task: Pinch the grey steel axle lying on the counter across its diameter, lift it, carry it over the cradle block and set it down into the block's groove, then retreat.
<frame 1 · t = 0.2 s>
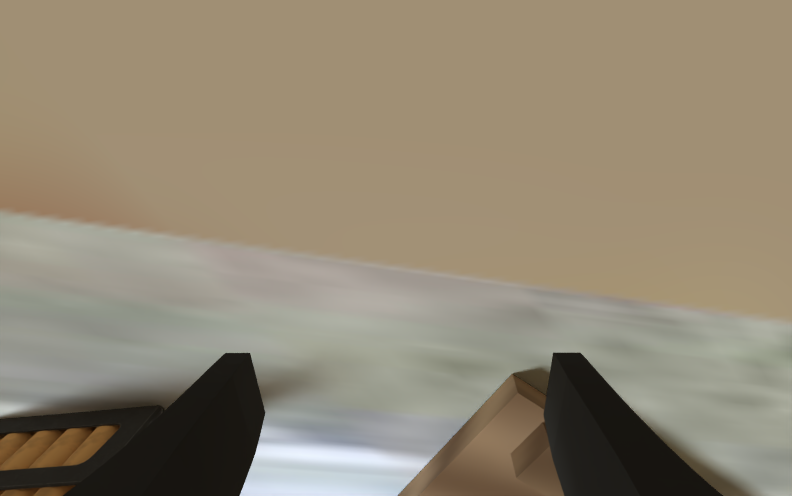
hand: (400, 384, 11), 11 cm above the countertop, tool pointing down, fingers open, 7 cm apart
ammunition clip: (81, 423, 26), on the countertop
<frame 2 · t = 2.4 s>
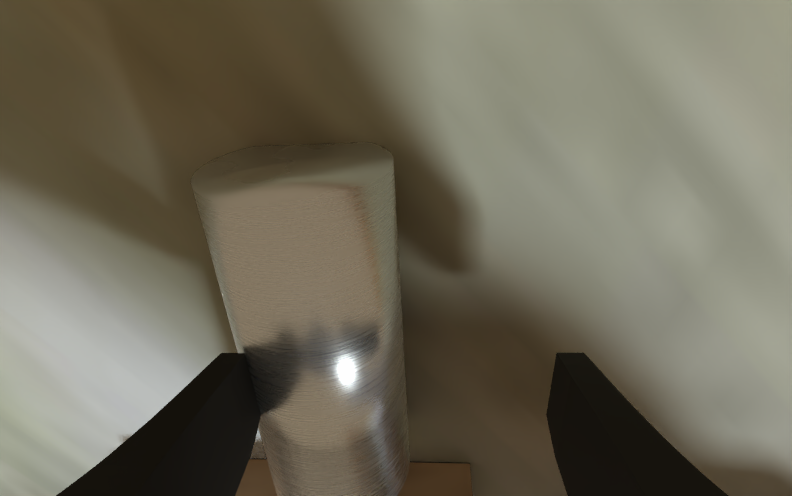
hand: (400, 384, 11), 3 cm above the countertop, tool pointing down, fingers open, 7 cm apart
steel axle: (323, 340, 13), point 2 cm above the countertop, tilted 85°, touching gripper
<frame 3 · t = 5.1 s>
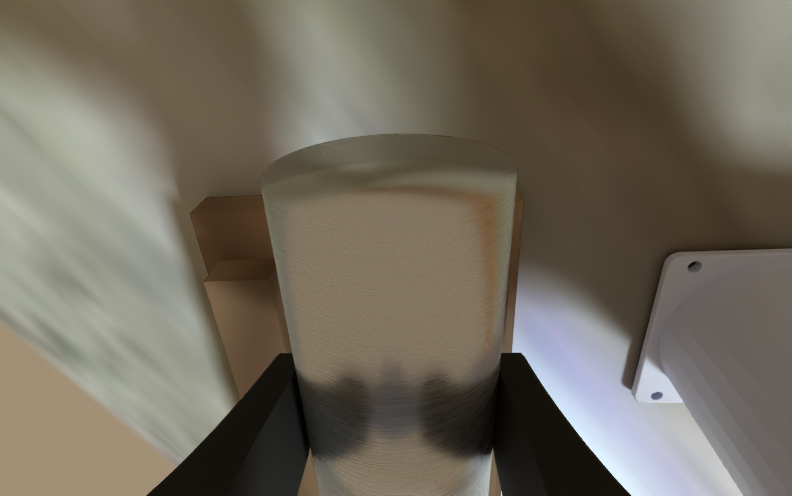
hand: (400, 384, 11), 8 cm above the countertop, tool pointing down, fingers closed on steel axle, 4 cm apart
cradle block: (376, 366, 22), on the countertop
steel axle: (398, 378, 11), point 9 cm above the countertop, tilted 50°, touching gripper
when the fingers open (4 cm above the countertop, at t = 7.3 s): steel axle moves 1 cm and tips over, resting on cradle block.
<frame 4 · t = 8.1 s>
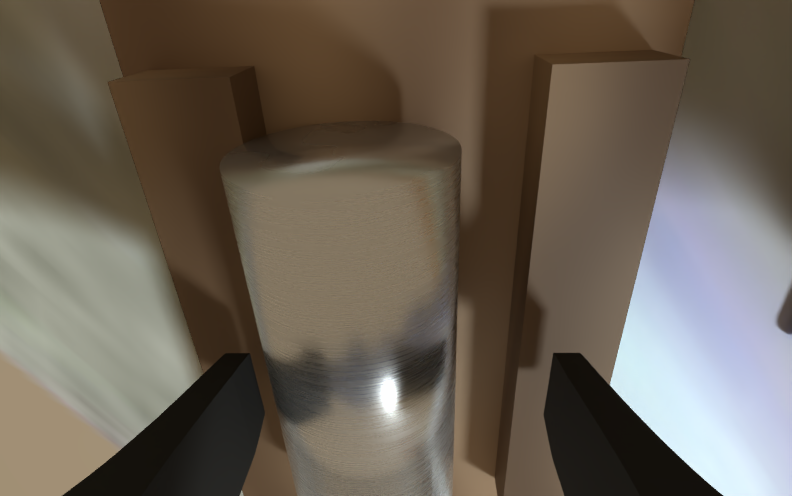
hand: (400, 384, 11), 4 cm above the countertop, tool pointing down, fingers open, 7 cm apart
cradle block: (405, 291, 15), on the countertop
steel axle: (363, 354, 11), point 4 cm above the countertop, tilted 73°, touching cradle block
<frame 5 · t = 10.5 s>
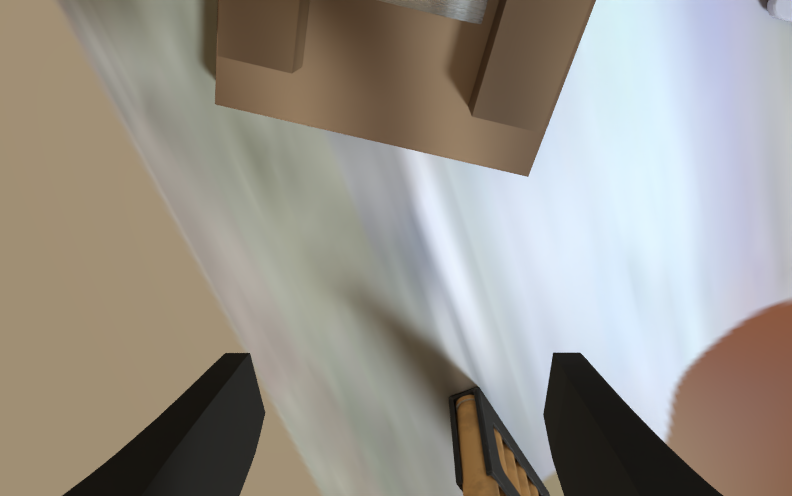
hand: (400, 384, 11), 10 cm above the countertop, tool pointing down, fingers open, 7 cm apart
ammunition clip: (501, 445, 28), on the countertop
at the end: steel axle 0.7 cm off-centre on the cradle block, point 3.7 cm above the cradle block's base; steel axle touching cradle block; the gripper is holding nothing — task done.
